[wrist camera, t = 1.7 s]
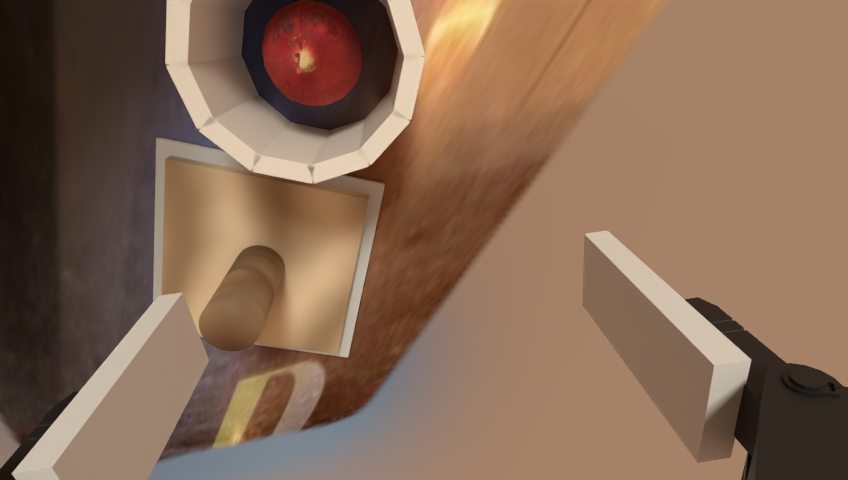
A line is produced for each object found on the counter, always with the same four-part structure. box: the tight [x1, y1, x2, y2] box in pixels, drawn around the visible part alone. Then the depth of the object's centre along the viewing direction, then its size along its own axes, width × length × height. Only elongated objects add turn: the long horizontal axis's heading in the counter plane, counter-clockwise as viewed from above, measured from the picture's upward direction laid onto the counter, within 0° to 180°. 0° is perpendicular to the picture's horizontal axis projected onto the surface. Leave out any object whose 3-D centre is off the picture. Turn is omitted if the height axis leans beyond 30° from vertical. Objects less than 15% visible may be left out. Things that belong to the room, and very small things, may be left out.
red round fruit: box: [262, 0, 363, 106], centre depth 28 cm, size 6×6×8 cm
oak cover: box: [162, 156, 369, 354], centre depth 33 cm, size 14×14×9 cm
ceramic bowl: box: [165, 0, 425, 184], centre depth 27 cm, size 12×12×10 cm
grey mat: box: [153, 137, 385, 358], centre depth 37 cm, size 16×16×1 cm
